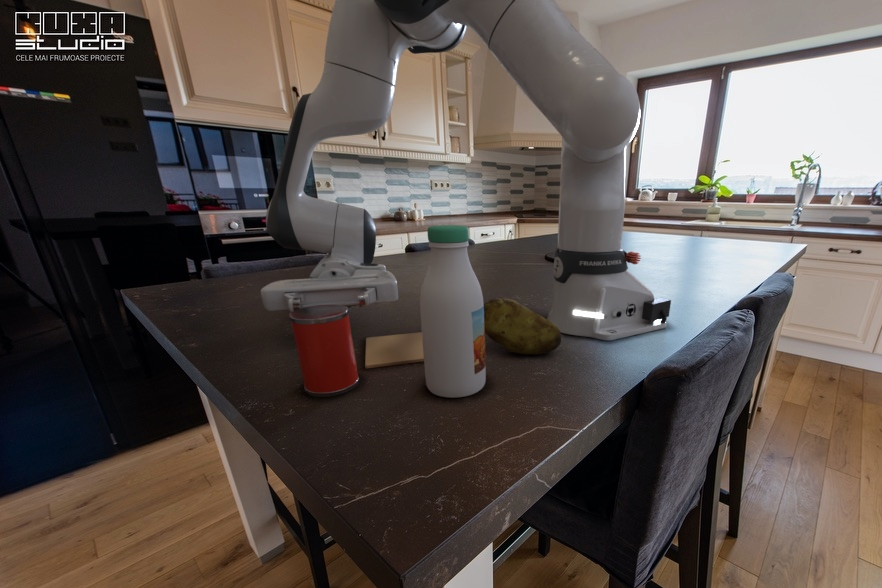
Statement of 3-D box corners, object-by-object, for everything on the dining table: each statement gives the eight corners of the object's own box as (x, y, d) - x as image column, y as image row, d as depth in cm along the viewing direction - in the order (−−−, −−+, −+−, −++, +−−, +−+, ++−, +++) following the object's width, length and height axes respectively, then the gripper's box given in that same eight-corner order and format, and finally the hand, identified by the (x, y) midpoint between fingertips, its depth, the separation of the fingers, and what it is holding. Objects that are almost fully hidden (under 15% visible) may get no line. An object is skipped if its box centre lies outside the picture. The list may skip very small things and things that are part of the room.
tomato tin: (359, 371, 55) (349, 302, 52) (358, 392, 50) (346, 316, 46) (308, 378, 53) (294, 306, 50) (301, 400, 48) (284, 321, 44)
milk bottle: (460, 405, 46) (452, 230, 39) (413, 389, 50) (397, 226, 43) (497, 380, 53) (495, 225, 45) (452, 368, 56) (444, 222, 49)
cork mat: (437, 332, 70) (437, 330, 70) (449, 358, 60) (449, 355, 60) (366, 340, 67) (366, 337, 67) (365, 368, 56) (365, 365, 56)
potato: (537, 368, 56) (539, 314, 53) (470, 348, 63) (468, 300, 61) (566, 350, 63) (568, 301, 60) (501, 334, 70) (501, 290, 67)
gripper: (267, 269, 67) (244, 287, 54) (393, 263, 73) (397, 278, 60) (275, 306, 69) (254, 331, 57) (396, 297, 75) (401, 318, 63)
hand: (330, 304), depth 58 cm, fingers open, 8 cm apart
